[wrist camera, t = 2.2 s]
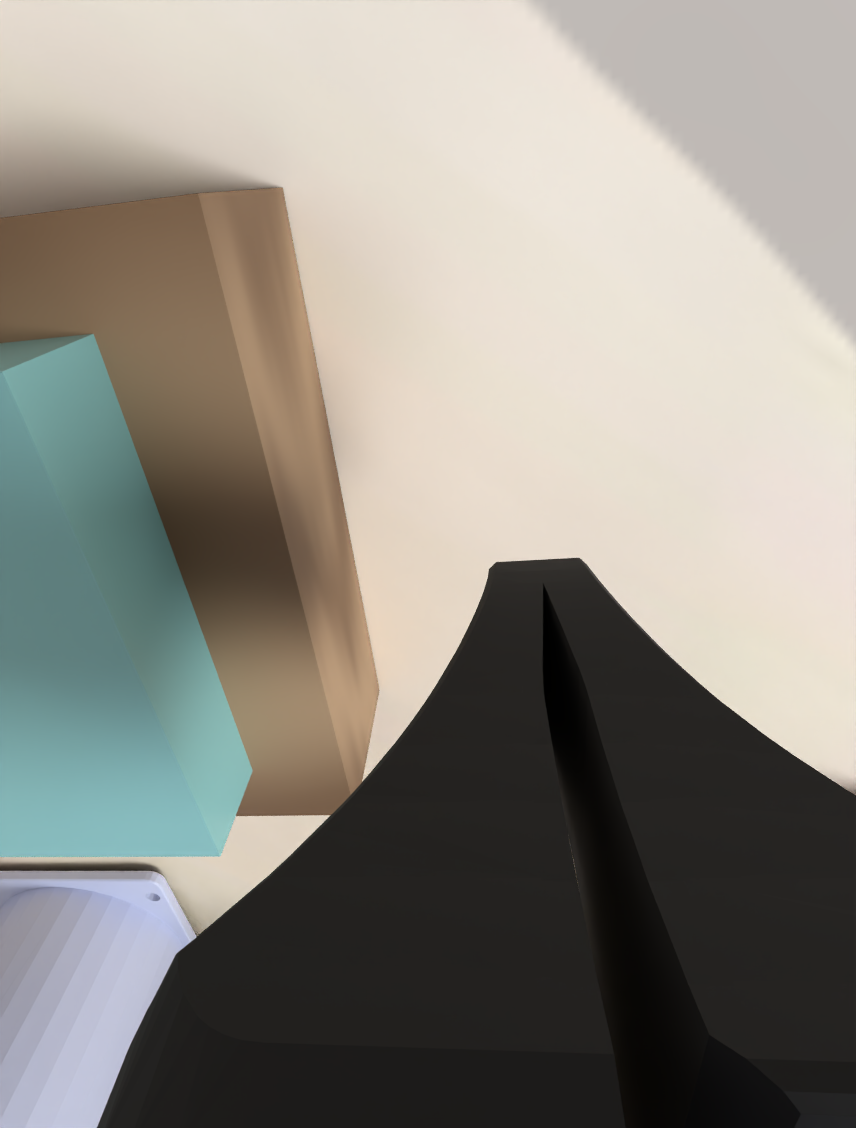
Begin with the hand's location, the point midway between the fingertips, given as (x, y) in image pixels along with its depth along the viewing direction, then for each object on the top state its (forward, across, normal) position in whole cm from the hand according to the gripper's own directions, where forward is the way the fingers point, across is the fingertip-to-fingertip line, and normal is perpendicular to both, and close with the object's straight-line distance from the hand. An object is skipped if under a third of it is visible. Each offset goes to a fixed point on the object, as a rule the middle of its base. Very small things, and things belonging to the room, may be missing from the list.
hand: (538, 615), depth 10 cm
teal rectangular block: (+1, +9, 0) cm, 9 cm away
